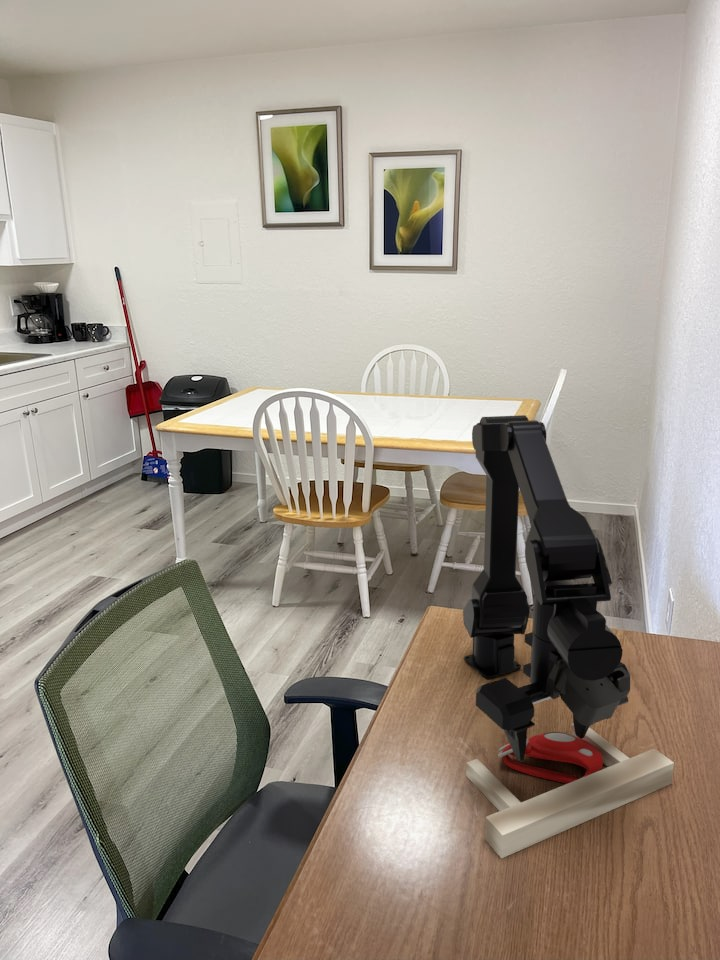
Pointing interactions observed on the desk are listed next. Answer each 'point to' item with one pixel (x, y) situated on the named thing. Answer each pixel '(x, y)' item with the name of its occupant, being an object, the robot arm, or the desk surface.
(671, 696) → the desk surface
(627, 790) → the frame
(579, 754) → the tracker holder
